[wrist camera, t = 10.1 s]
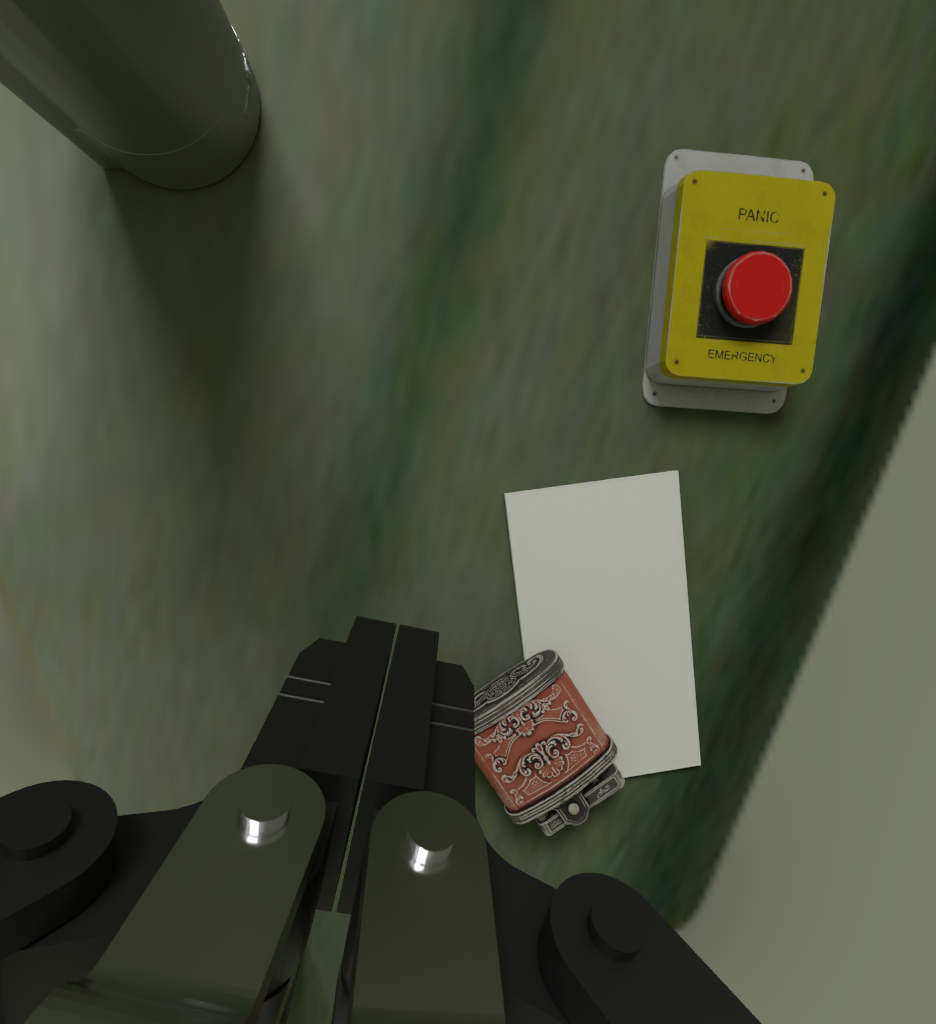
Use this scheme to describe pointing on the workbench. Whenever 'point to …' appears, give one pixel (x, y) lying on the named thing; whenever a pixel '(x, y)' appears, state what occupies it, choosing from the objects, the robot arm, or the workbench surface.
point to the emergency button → (735, 281)
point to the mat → (613, 608)
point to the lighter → (543, 745)
